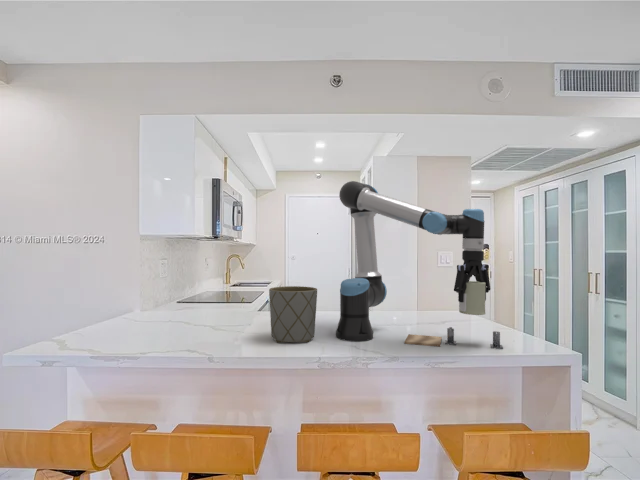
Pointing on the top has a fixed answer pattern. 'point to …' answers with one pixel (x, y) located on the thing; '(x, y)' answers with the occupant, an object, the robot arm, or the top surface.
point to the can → (475, 298)
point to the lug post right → (496, 341)
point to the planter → (293, 313)
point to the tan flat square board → (423, 340)
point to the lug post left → (450, 336)
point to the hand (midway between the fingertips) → (472, 310)
